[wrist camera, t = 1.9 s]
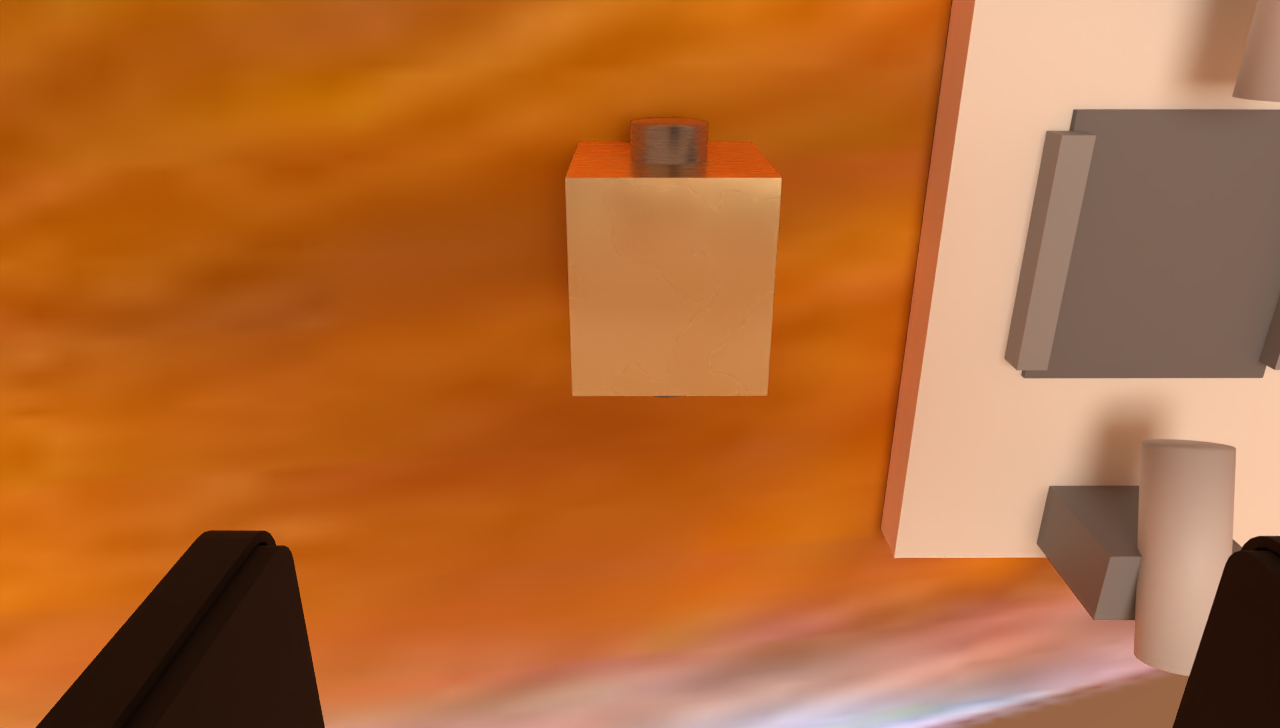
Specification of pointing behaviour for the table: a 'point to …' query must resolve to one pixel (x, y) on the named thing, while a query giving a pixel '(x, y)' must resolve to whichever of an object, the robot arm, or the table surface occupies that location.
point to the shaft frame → (1099, 305)
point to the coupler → (671, 263)
